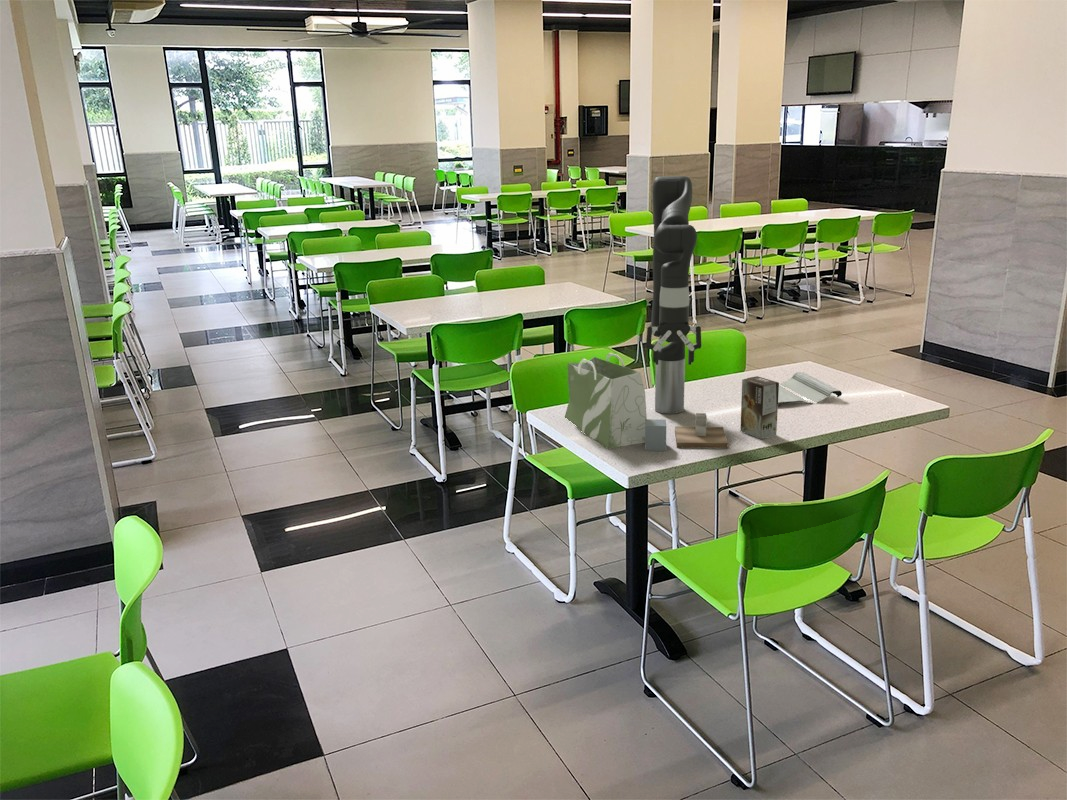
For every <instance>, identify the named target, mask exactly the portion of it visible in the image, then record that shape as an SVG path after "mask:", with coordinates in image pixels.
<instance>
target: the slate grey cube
mask: <svg viewBox="0 0 1067 800" xmlns="http://www.w3.org/2000/svg"><path fill="white" fill-rule="evenodd" d="M644 451H649V452H653V451H654V452H655V451H657V452H660V451H661V452H662V451H663V452H664V451H665V452H666V451H667V419H662V418H661V419H659V418H658V419H655V418H654V419H653V418H652V419H650V418H647V419H645V442H644Z"/></svg>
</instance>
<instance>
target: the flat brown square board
mask: <svg viewBox="0 0 1067 800" xmlns="http://www.w3.org/2000/svg"><path fill="white" fill-rule="evenodd" d="M674 434H675V443H676V448H681V447H683V449H684V448H686V449H688V448H689V449H690V448H695V449H696V448H698V449H700V448H701V449H702V448H703V449H706V448H707V449H728V448H729V446H728V445H729V442H728V439H727V436H726V433H725V429H724V426H707V413H705V412H701V413H699V412H696V413H695V426H678V425H677V426H674Z"/></svg>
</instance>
